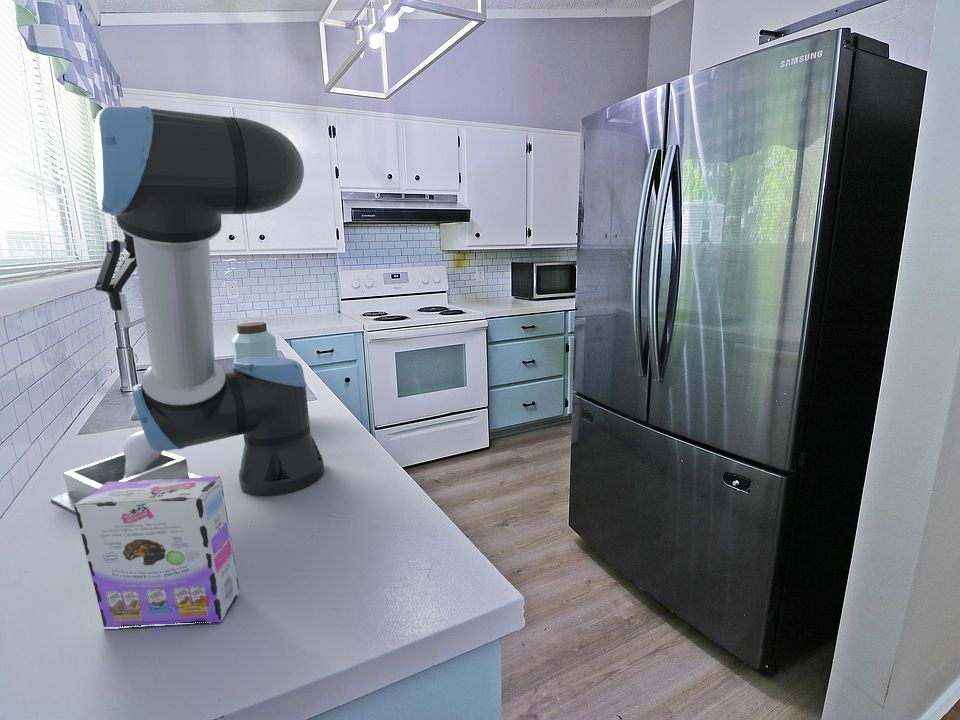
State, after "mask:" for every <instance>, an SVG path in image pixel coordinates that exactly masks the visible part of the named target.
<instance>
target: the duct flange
mask: <svg viewBox="0 0 960 720" xmlns="http://www.w3.org/2000/svg"><path fill="white" fill-rule="evenodd" d="M125 463H126V460H125V456H124V453H123V452H122V453H119V454H117V455H113V456H110V457H108V458H104V459H102V460H97V461H95V462H92V463H88V464H87V465H83V466H80V467H77V468H74V469H71V470H68V471H65V472H63V477H64V482H65V486H66V490H67V492H64V493H60V494H58V495H56V496H53V497H50V501H51V502H52V503H54V504H56V505H57V506H58V505H59V506H60V507H62V508H64V509H66V510H68V511H69V512H72V513H73V514H75V515H76V512H75V508H74V505H75V504H76V503H77V502H79V501H80V500H82V499H83V498H85V497H86V496H88V495H89V494H90V493H92V492H93V491H95V490H96V489H98V488H99V487H101V486H102V485H104V484H105V483H107V482H119V481H141V480H159V479H178V478H196V477H201V476H199V475H197V474H194V473H191V472H189V468H188V462H187V458H186V457H182V456H179V455H177V454H174V453H170V452H169V451H163V452H162V454H161V455H160V457H159V458H158V459H157V460H155V461H154V462H153V463H151V464H150V465H149V466H148V467H147V469H146V470H145V472H142V473H140V474H137V475H134V476H131V477H129V478H126V479H123V475H124V472H125ZM122 479H123V480H122Z"/></svg>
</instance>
